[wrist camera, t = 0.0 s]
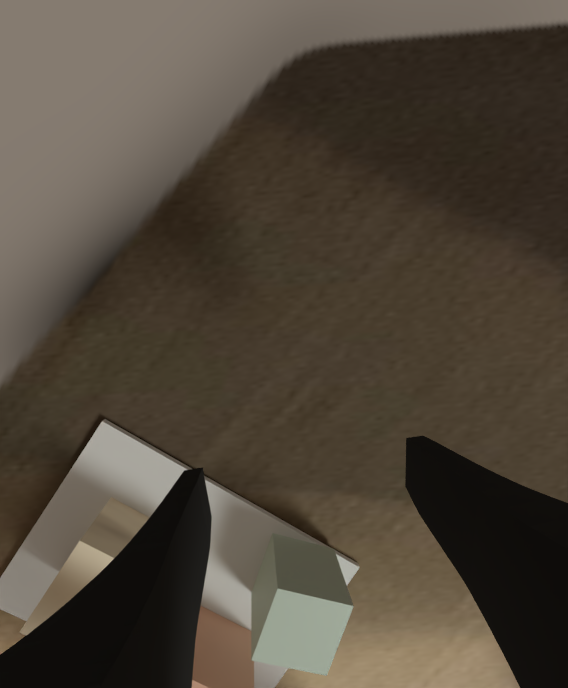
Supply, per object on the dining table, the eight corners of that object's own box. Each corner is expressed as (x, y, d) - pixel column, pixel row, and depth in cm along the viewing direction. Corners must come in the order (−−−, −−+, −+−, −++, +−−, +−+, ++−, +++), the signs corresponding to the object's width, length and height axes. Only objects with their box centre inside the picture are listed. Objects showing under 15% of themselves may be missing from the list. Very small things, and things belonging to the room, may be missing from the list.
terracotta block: (218, 683, 24) (210, 770, 19) (162, 656, 23) (140, 740, 19) (253, 632, 24) (254, 708, 19) (197, 604, 23) (185, 676, 18)
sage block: (312, 606, 24) (326, 675, 19) (251, 592, 23) (251, 660, 19) (334, 548, 23) (353, 606, 19) (272, 533, 23) (277, 588, 18)
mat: (249, 716, 25) (249, 723, 24) (-11, 596, 22) (-16, 602, 21) (357, 563, 24) (359, 567, 24) (104, 418, 21) (102, 421, 21)
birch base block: (144, 613, 23) (121, 678, 19) (61, 572, 22) (19, 632, 18) (193, 540, 22) (180, 591, 18) (111, 497, 21) (79, 540, 18)
